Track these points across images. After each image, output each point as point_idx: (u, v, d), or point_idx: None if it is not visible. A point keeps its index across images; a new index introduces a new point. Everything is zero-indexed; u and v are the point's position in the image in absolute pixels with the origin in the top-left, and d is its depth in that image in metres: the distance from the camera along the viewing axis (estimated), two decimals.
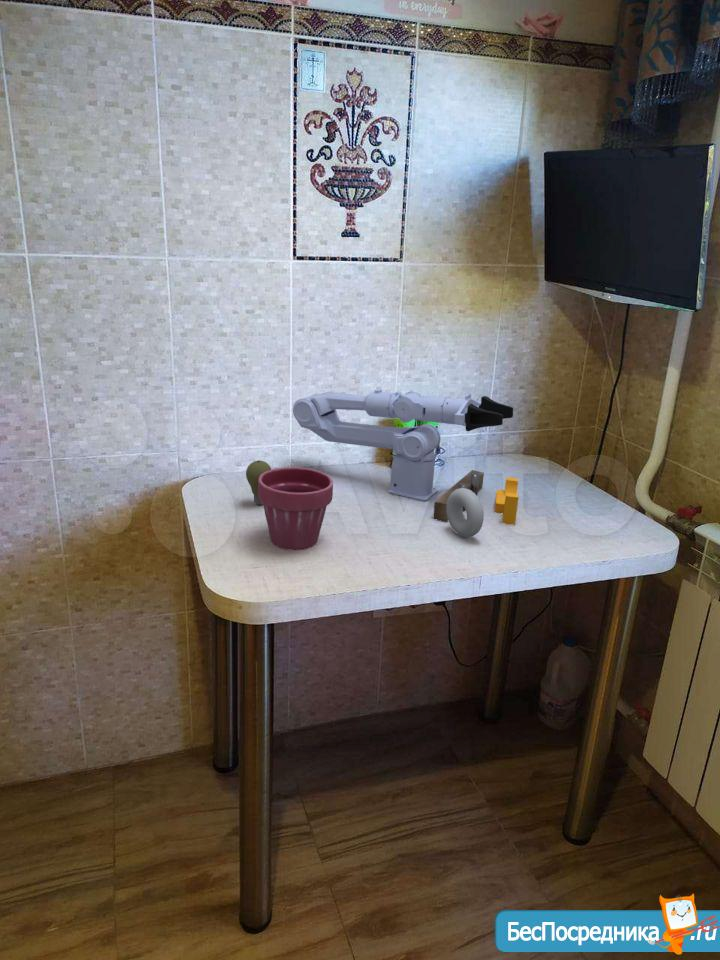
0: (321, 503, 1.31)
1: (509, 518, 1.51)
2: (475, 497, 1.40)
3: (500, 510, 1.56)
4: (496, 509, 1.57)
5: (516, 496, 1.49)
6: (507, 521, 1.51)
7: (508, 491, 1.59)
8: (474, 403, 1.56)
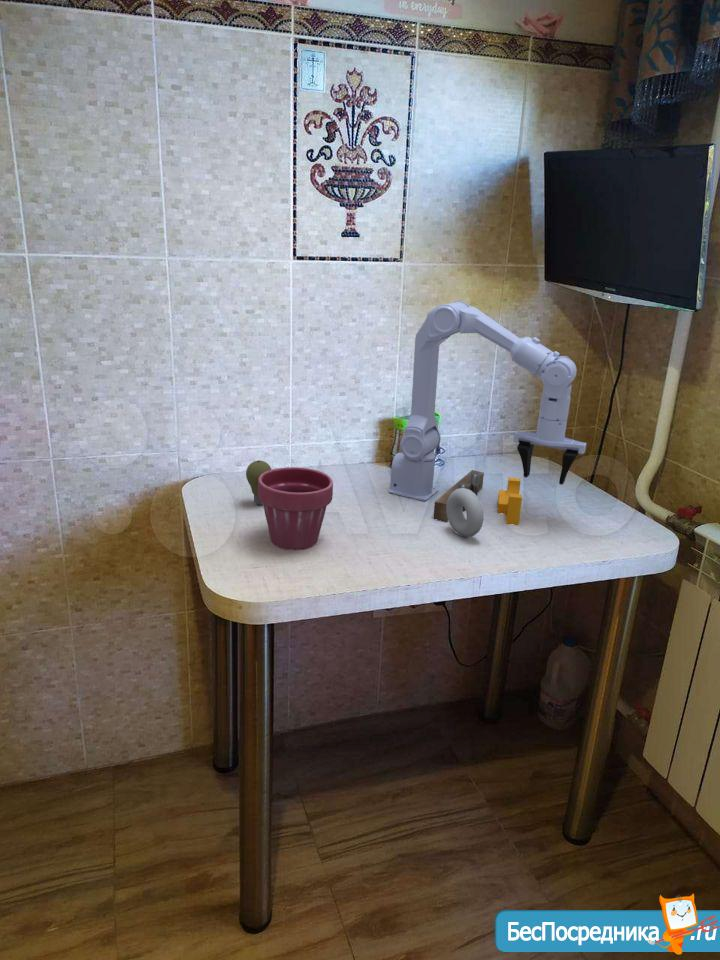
0: (321, 503, 1.31)
1: (513, 518, 1.51)
2: (475, 497, 1.40)
3: (503, 510, 1.56)
4: (499, 509, 1.56)
5: (520, 496, 1.49)
6: (511, 521, 1.51)
7: (510, 491, 1.58)
8: None
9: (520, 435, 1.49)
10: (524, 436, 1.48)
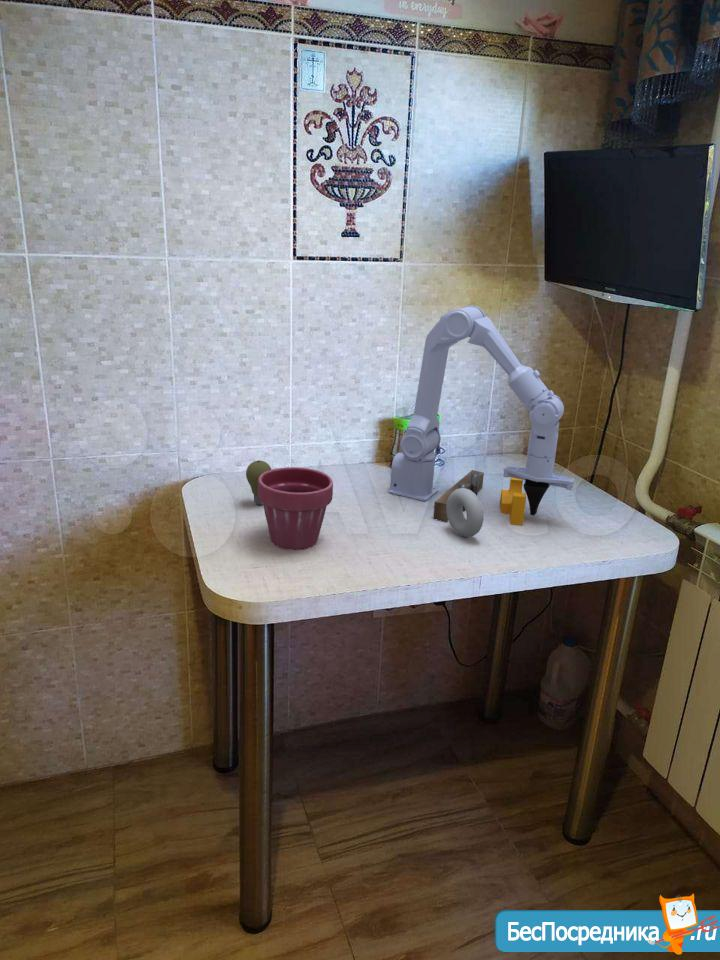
0: (321, 503, 1.31)
1: (517, 518, 1.51)
2: (475, 497, 1.40)
3: (506, 510, 1.56)
4: (502, 509, 1.56)
5: (523, 496, 1.49)
6: (515, 521, 1.51)
7: (513, 491, 1.58)
8: None
9: (509, 471, 1.52)
10: (513, 472, 1.52)
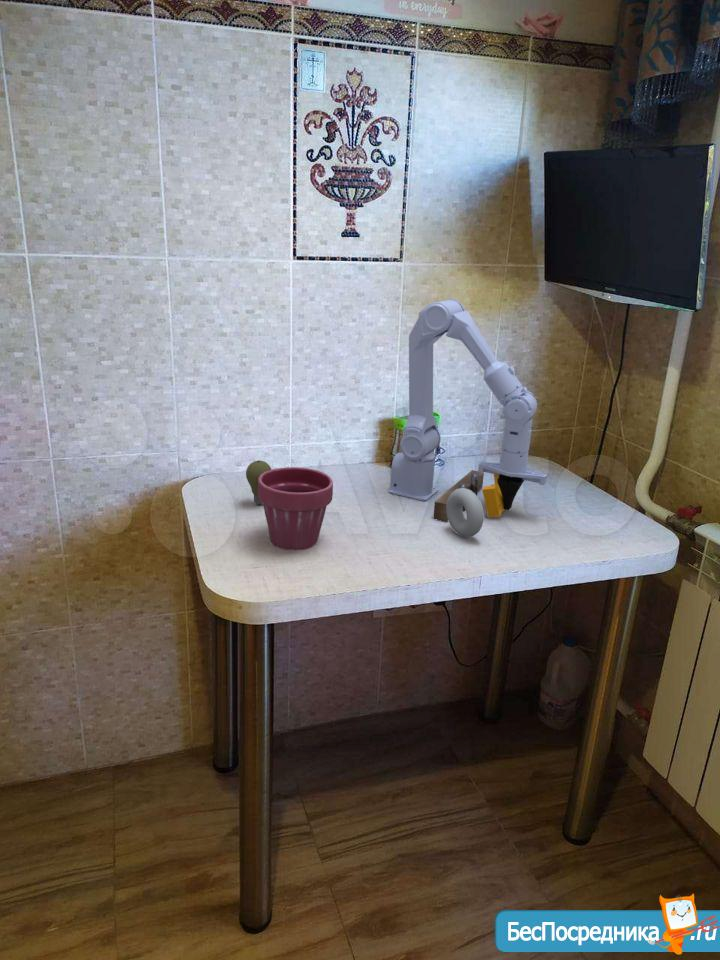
0: (321, 503, 1.31)
1: (492, 510, 1.52)
2: (475, 497, 1.40)
3: None
4: None
5: (492, 487, 1.51)
6: (491, 513, 1.53)
7: (497, 484, 1.60)
8: None
9: (484, 466, 1.55)
10: (488, 467, 1.54)
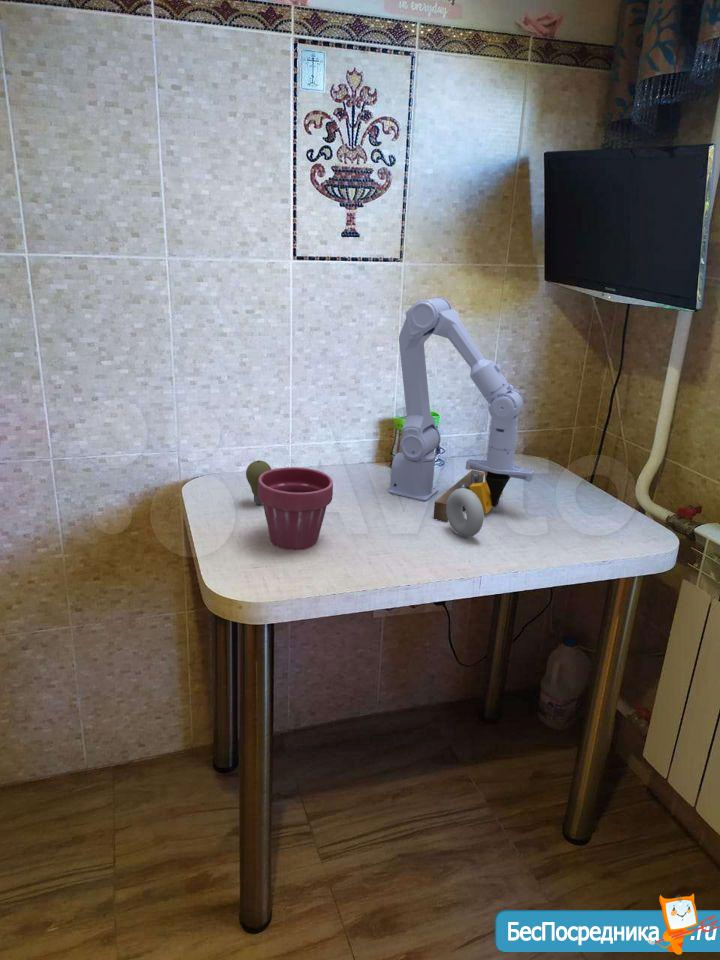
0: (321, 503, 1.31)
1: None
2: (475, 497, 1.40)
3: None
4: None
5: (479, 485, 1.52)
6: None
7: None
8: None
9: (471, 463, 1.56)
10: (475, 464, 1.55)
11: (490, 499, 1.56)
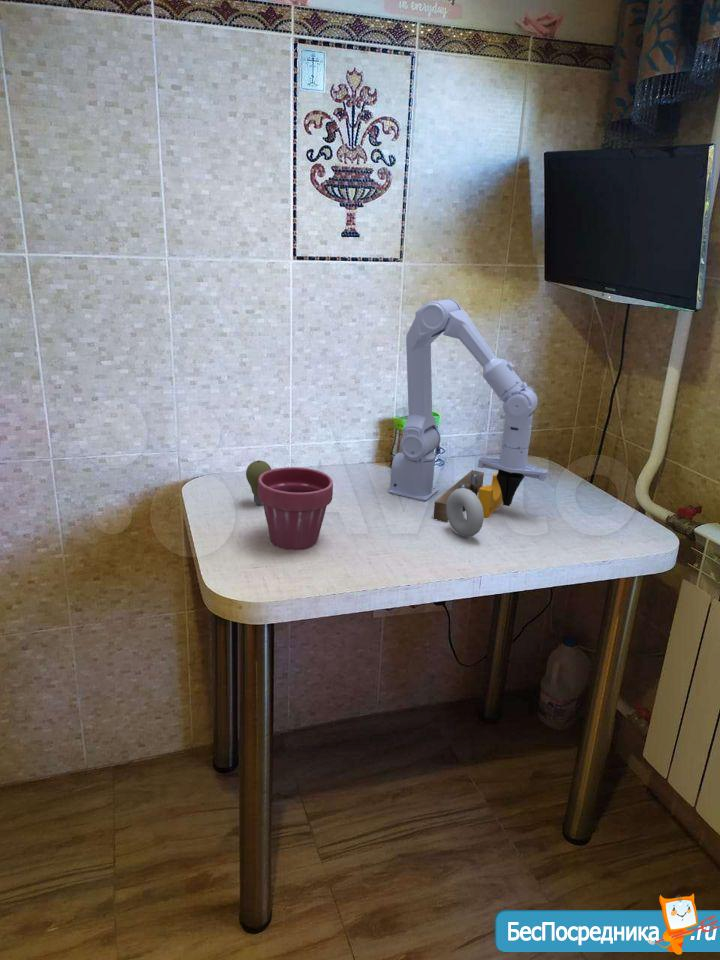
0: (321, 503, 1.31)
1: None
2: (475, 497, 1.40)
3: None
4: None
5: (489, 490, 1.52)
6: None
7: (494, 486, 1.61)
8: None
9: (484, 461, 1.54)
10: (488, 462, 1.54)
11: (493, 505, 1.56)
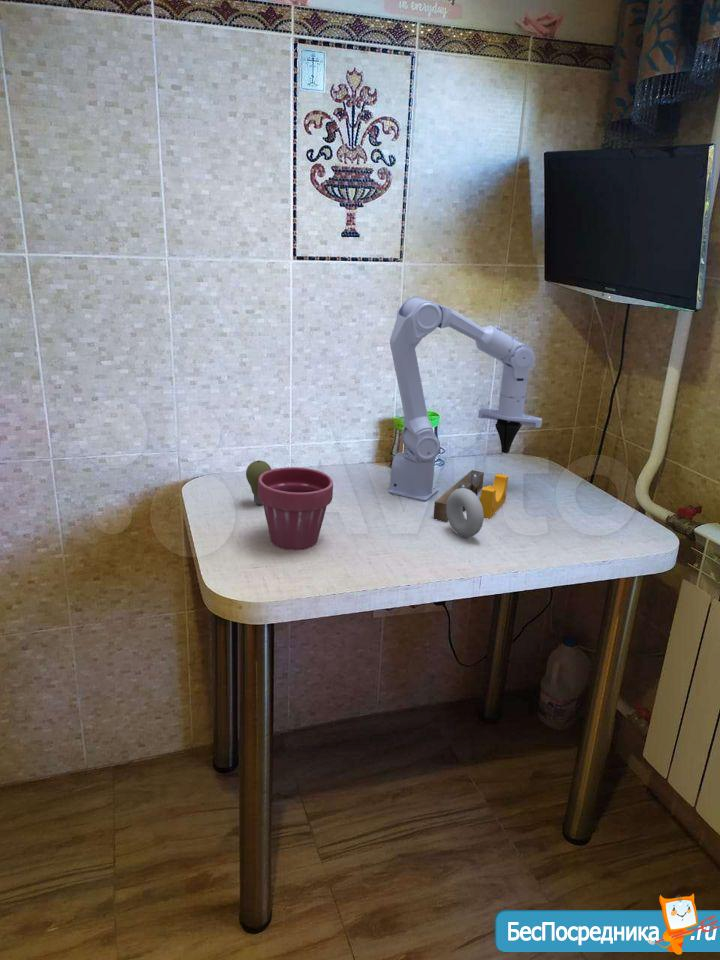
0: (321, 503, 1.31)
1: (484, 512, 1.53)
2: (475, 497, 1.40)
3: None
4: None
5: (492, 490, 1.52)
6: None
7: (496, 487, 1.61)
8: None
9: (484, 412, 1.66)
10: (487, 412, 1.65)
11: (495, 506, 1.56)
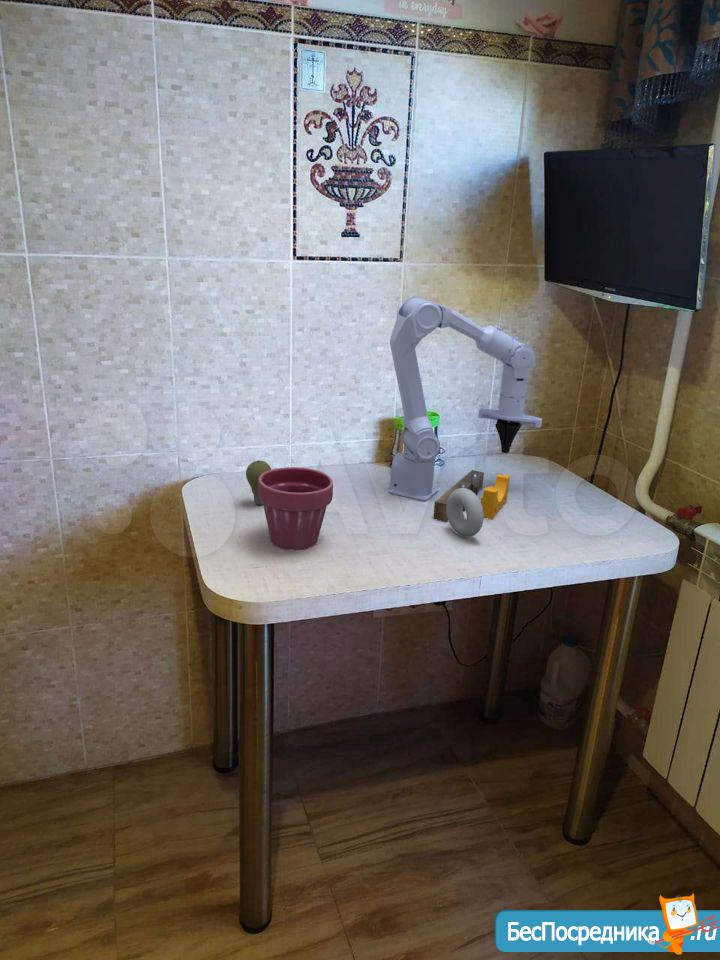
0: (321, 503, 1.31)
1: (487, 512, 1.53)
2: (475, 497, 1.40)
3: None
4: (481, 503, 1.59)
5: (494, 491, 1.52)
6: (485, 515, 1.54)
7: (497, 487, 1.60)
8: None
9: (484, 412, 1.66)
10: (487, 412, 1.65)
11: (497, 506, 1.56)
